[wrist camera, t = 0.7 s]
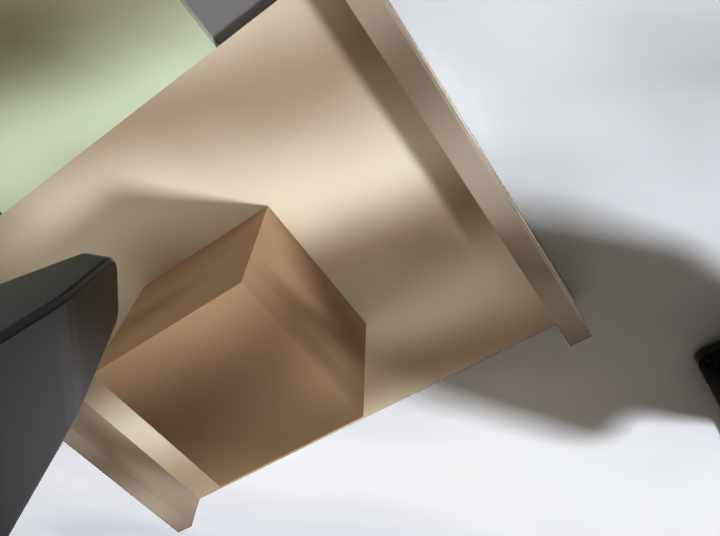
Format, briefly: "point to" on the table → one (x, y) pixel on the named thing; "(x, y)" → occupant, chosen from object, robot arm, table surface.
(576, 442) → the table surface
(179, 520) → the trap board
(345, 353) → the walnut block
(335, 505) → the table surface
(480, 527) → the table surface
